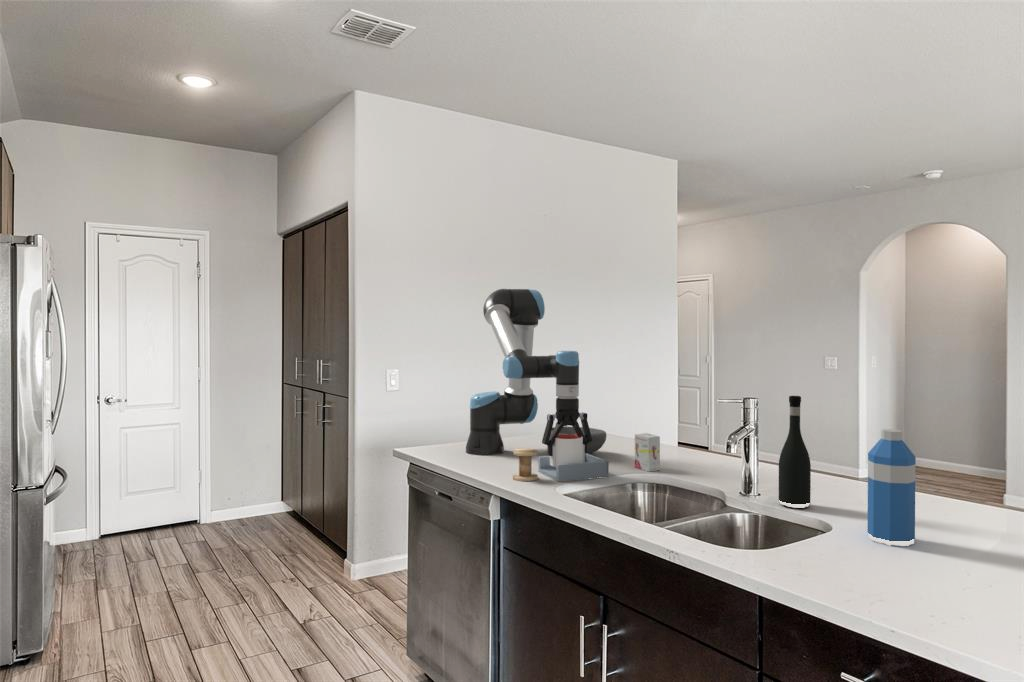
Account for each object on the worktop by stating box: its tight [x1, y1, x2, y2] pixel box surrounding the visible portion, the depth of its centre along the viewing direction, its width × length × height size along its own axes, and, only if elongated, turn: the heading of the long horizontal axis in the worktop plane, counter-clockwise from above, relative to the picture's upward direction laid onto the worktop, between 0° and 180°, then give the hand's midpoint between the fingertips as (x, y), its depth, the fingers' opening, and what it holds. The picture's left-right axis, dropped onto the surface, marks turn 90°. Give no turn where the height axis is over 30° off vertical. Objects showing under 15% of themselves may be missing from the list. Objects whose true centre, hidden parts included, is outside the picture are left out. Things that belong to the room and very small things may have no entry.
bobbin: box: [512, 448, 539, 482], centre depth 212 cm, size 8×8×9 cm
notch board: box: [537, 453, 610, 483], centre depth 218 cm, size 16×18×5 cm
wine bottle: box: [778, 395, 812, 504], centre depth 179 cm, size 8×8×30 cm
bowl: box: [550, 426, 607, 455], centre depth 253 cm, size 23×22×10 cm
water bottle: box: [867, 428, 917, 541], centre depth 149 cm, size 9×9×25 cm
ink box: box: [634, 432, 661, 473], centre depth 228 cm, size 9×5×12 cm, turn 25°
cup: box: [553, 434, 583, 467], centre depth 218 cm, size 10×10×10 cm
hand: (567, 464), depth 218 cm, fingers closed on cup, 10 cm apart
